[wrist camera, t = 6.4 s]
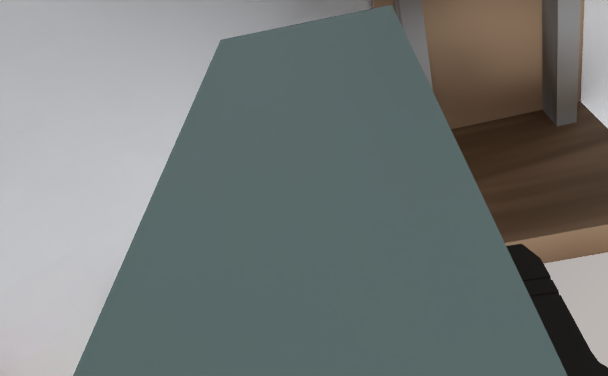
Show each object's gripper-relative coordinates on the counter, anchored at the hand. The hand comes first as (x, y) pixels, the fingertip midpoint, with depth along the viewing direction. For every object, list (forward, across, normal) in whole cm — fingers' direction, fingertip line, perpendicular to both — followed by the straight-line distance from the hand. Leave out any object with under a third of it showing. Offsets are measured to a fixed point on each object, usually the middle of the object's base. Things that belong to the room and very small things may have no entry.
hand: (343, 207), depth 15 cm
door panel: (0, 0, 0) cm, 0 cm away
